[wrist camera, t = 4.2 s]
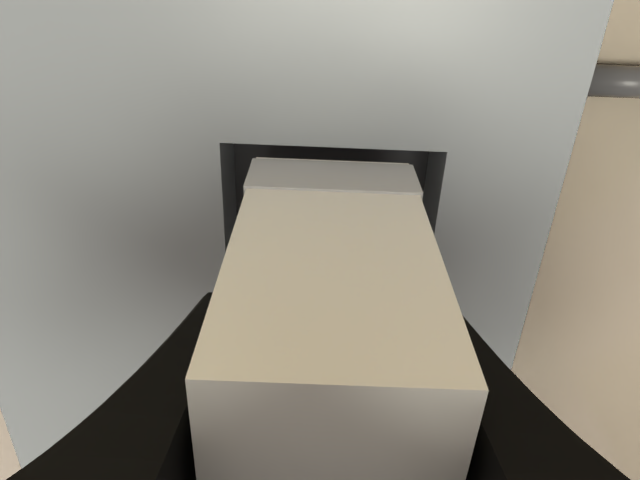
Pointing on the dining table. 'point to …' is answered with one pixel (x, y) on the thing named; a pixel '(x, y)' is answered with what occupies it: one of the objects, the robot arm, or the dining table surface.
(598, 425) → the dining table surface
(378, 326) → the charger plug
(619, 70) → the phone with cable
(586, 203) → the dining table surface
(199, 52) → the outlet plate
